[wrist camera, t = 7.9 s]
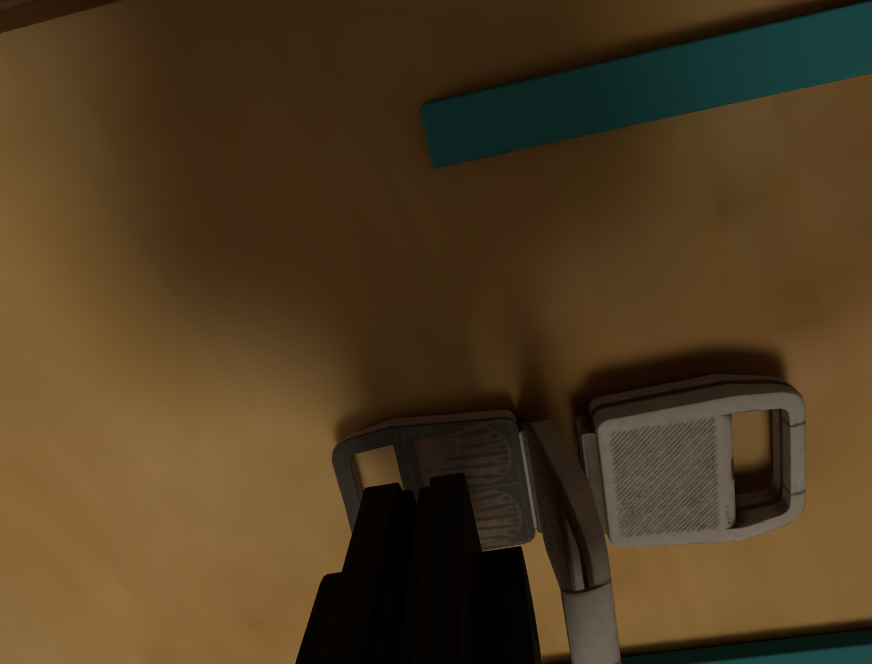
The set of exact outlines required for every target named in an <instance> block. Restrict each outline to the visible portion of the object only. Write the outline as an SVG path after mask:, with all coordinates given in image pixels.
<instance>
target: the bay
mask: <svg viewBox="0 0 872 664" xmlns="http://www.w3.org/2000/svg"><path fill="white" fill-rule="evenodd" d="M869 73H872V0H868V1H863V2H859V3H855V4H850V5H846V6H842V7H838V8H833V9H829V10H825V11H820V12H816V13H812V14H807V15H803V16H799V17H794V18H790V19H786V20H781V21H777V22H773V23H769V24H764V25H760V26H756V27H751V28H747V29H743V30H738V31H734V32H730V33H725V34H721V35H717V36H712V37H708V38H704V39H700V40H695V41H691V42H687V43H682V44H678V45H674V46H669V47H665V48H661V49H656V50H652V51H648V52H643V53H639V54H635V55H631V56H626V57H622V58H618V59H613V60H609V61H605V62H600V63H596V64H592V65H587V66H583V67H579V68H574V69H570V70H566V71H562V72H557V73H553V74H549V75H544V76H540V77H536V78H531V79H527V80H523V81H518V82H514V83H510V84H505V85H501V86H497V87H493V88H488V89H484V90H480V91H475V92H471V93H467V94H462V95H458V96H454V97H449V98H445V99H441V100H436V101H432V102H428V103H424V104H421V105H420V111H421V115H422V120H423V125H424V129H425V134H426V139H427V143H428V148H429V153H430V157H431V162H432V166H433V167H434V168H438V167H442V166H447V165H452V164H456V163H461V162H465V161H470V160H475V159H479V158H484V157H488V156H493V155H498V154H502V153H507V152H511V151H516V150H521V149H525V148H530V147H534V146H539V145H543V144H548V143H553V142H557V141H562V140H566V139H571V138H576V137H580V136H585V135H589V134H594V133H599V132H603V131H608V130H612V129H617V128H621V127H626V126H631V125H635V124H640V123H644V122H649V121H654V120H658V119H663V118H667V117H672V116H677V115H681V114H686V113H690V112H695V111H699V110H704V109H709V108H713V107H718V106H722V105H727V104H732V103H736V102H741V101H745V100H750V99H755V98H759V97H764V96H768V95H773V94H777V93H782V92H787V91H791V90H796V89H800V88H805V87H810V86H814V85H819V84H823V83H828V82H833V81H837V80H842V79H846V78H851V77H855V76H860V75H865V74H869ZM564 664H572V663H564ZM621 664H872V629H868V630H859V631H850V632H841V633H832V634H823V635H814V636H805V637H796V638H787V639H778V640H769V641H760V642H751V643H743V644H734V645H725V646H716V647H707V648H698V649H689V650H680V651H671V652H662V653H653V654H644V655H635V656H626V657H621Z"/></svg>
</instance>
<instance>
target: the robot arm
mask: <svg viewBox="0 0 872 664" xmlns="http://www.w3.org/2000/svg"><path fill="white" fill-rule="evenodd" d="M295 664H542V660H541V653H540V646H539V639H538V632H537V625H536V619H535V613H534V607H533V602H532V596H531V591H530V585H529V580H528V575H527V570H526V565H525V560H524V556H523V551H522V547H521V546H518V547H511V548H505V549H498V550H491V551H484V552H482V549H481V544H480V540H479V535H478V531H477V526H476V522H475V517H474V513H473V508H472V504H471V499H470V495H469V490H468V486H467V482H466V478H465V475H464V473H463V472H462V473H455V474H449V475H443V476H437V477H432V478H431V480H430V486H429V487H423V488H420V489H419V496H418V504H416V500H415V497H414V493H413V491H412V490H411V489H410V490H404V491H402V489H401V487H400V484H399V483H392V484H386V485H380V486H373V487H367V488H365V490H364V492H363V496H362V500H361V503H360V507H359V511H358V514H357V518H356V522H355V525H354V529H353V533H352V536H351V540H350V544H349V547H348V551H347V555H346V558H345V562H344V566H343V569H342V572H338V573H331V574H327V575H325V576H324V577H323V579H322V581H321V583H320V586H319V589H318V592H317V595H316V599H315V602H314V605H313V608H312V611H311V615H310V618H309V621H308V624H307V628H306V631H305V634H304V637H303V640H302V644H301V647H300V650H299V653H298V656H297V660H296V663H295Z"/></svg>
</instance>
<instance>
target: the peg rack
mask: <svg viewBox="0 0 872 664" xmlns="http://www.w3.org/2000/svg"><path fill="white" fill-rule="evenodd" d="M117 1H121V0H0V33H2V32H6V31H10V30H13V29H17V28H21V27H25V26H28V25H32V24H36V23H39V22H43V21H47V20H50V19H54V18H58V17H61V16H65V15H69V14H73V13H76V12H80V11H84V10H87V9H91V8H95V7H98V6H102V5H106V4H110V3H113V2H117Z"/></svg>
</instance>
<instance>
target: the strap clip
mask: <svg viewBox="0 0 872 664" xmlns="http://www.w3.org/2000/svg"><path fill="white" fill-rule="evenodd" d="M769 409H772V421H773V482H772V486H771V487H770V488H769V489H766V490H764V491H756V492H749V493H741V494H735V488H734V464H733V440H732V417H731V414H732V413H739V412H749V411H759V410H769ZM575 420H576V427H577V435H578V443H579V450H580V458H581V465H582V468H581V466H580V465H579V463H578V462H577V460H576V458H575V457H574V455H573V454H572V452H571V450H570V449H569V447H568V445H567V444H566V442H565V441H564V439H563V437H562V436H561V434H560V433H559V431H558V429H557V428H556V426H555V425H554V423H553V422H552V421H549V420H544V421H539V422H534V423H531V421H529V422H527V423H522V424H521V423H517V419H516V416H515V414H513V413H512V412H510V411H509V410H503V409H502V410H491V411H479V412H467V413H455V414H444V415H432V416H420V417H409V418H397V419H391V420H388V421H385V422H382V423H380V424H377V425H374V426H371V427H368V428H365V429H363V430H360V431H357V432H354V433H351V434H349V435H347V436H346V437H345V438H343V439H342V440H340V441H339V442H338V444H337V445H336V446H335V448H334V450H333V453H332V463H333V467H334V471H335V474H336V478H337V481H338V484H339V488H340V491H341V494H342V498H343V501H344V504H345V508H346V512H347V516H348V520H349V524H350V528H351V532H352V533H353V529H354V525H355V522H356V518H357V514H358V511H359V507H360V503H361V500H362V496H363V492H362V489H361V485H360V481H359V477H358V473H357V470H356V466H355V462H354V456H353V455H354V454H357V453H361V452H365V451H369V450H373V449H377V448H381V447H385V446H389V445H393V446H394V450H395V455H396V459H397V463H398V467H399V471H400V476H401V480H402V484H403V488H404V490H410V489H411V490H412V491H413V493H414V497H415V500H416V504H418V496H419V489H420V488H423V487H429V486H430V480H431V478H432V477H437V476H443V475H449V474H455V473H462V472H463V473H464V475H465V478H466V482H467V486H468V490H469V495H470V499H471V504H472V508H473V513H474V517H475V522H476V526H477V531H478V535H479V540H480V544H481V549H482V551H484V550H490V549H496V548H502V547H508V546H514V545H520V544H525V543H528V542H530V541H531V540H532V539H533V538H534V536H535V529H537V530H538V532H540V533H543V539H544V543H545V547H546V551H547V554H548V556H549V559H550V562H551V565H552V567H553V570H554V573H555V576H556V578H557V581H558V584H559V587H560V590H561V596H562V603H563V609H564V616H565V622H566V629H567V635H568V642H569V648H570V655H571V661H572V664H621V656H620V648H619V640H618V631H617V623H616V615H615V607H614V599H613V591H612V582H611V574H610V566H609V558H608V552H607V546H606V541H605V536H604V533H605V534H607V536H608V539H609V541H610V542H611V543H612V544H613V545H614V546H616V547H619V548H630V547H646V546H662V545H678V544H694V543H710V542H726V541H741V540H744V539H747V538H750V537H753V536H756V535H759V534H762V533H765V532H767V531H770V530H773V529H776V528H779V527H782V526H785V525H787V524H789V523H790V522H792V521H794V520H795V519H797V518H798V517H799V516H800V515H801V513H802V512H803V509H804V506H805V403H804V400H803V397H802V395H801V394H800V393H799V392H798V391H797V390H796V389H794V388H793V387H792V386H791V385H790V384H788V383H787V382H785V381H784V380H781V379H778V378H775V377H772V376H758V375H734V374H712V375H707V376H702V377H697V378H692V379H686V380H681V381H676V382H671V383H666V384H661V385H656V386H651V387H646V388H641V389H636V390H631V391H625V392H620V393H615V394H610V395H605V396H600V397H597V398H595V399H593V400H592V401H591V403H590V404H589V408H588V415H585V416H575Z"/></svg>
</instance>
